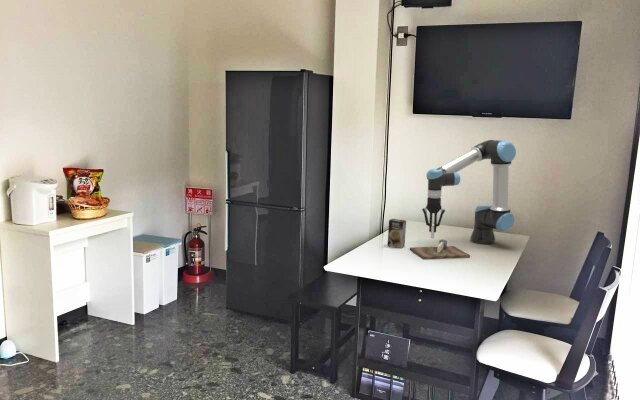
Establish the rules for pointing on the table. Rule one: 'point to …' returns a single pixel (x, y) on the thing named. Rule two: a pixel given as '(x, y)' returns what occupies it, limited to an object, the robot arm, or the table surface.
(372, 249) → the table surface
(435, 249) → the dial board
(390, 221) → the coffee box
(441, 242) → the grey-tipped match
